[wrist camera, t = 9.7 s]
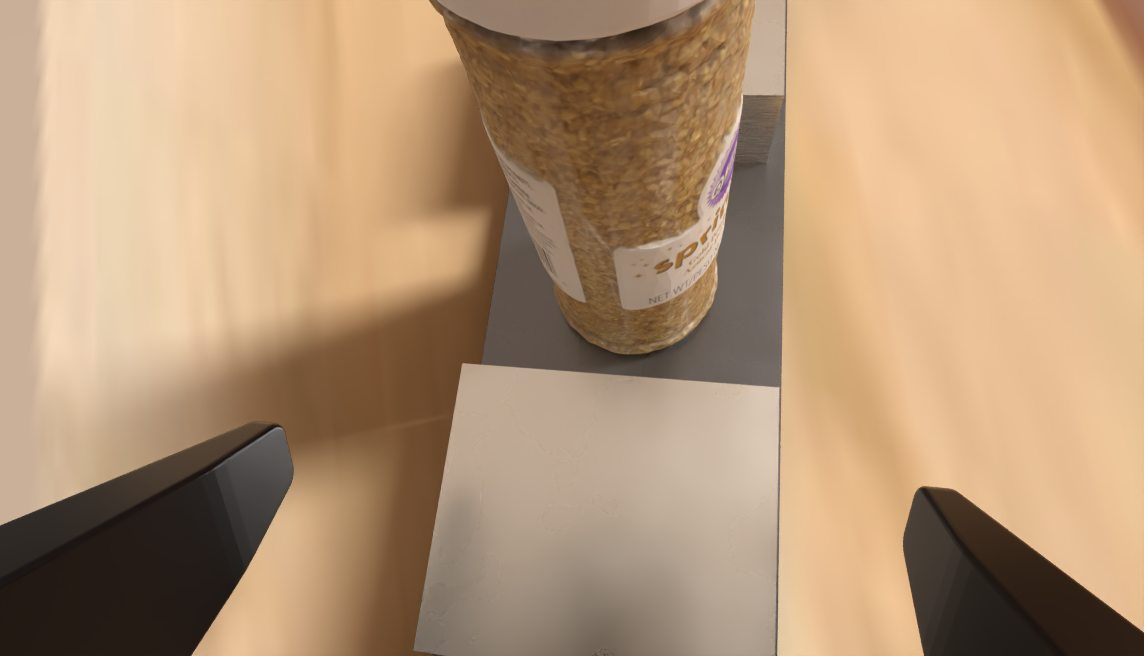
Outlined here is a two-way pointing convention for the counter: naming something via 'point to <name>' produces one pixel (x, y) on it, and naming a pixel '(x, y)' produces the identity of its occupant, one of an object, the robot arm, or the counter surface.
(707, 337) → the mounting plate
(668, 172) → the sprinkles bottle
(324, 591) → the counter surface
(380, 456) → the counter surface
